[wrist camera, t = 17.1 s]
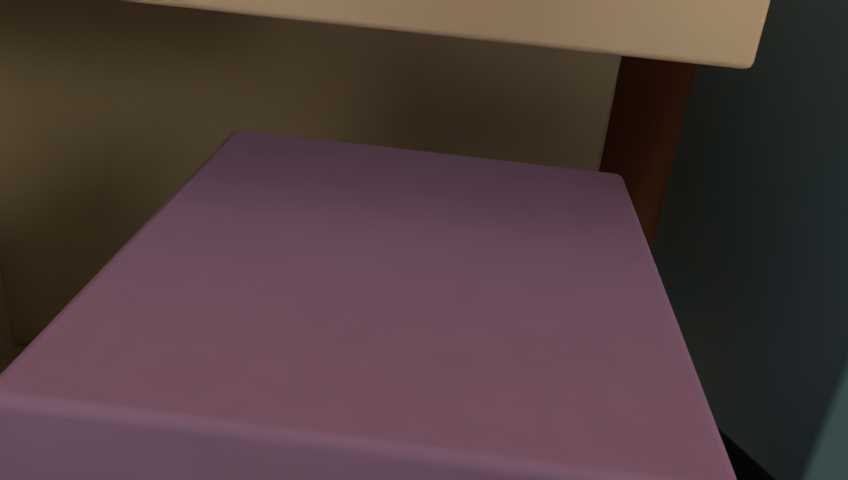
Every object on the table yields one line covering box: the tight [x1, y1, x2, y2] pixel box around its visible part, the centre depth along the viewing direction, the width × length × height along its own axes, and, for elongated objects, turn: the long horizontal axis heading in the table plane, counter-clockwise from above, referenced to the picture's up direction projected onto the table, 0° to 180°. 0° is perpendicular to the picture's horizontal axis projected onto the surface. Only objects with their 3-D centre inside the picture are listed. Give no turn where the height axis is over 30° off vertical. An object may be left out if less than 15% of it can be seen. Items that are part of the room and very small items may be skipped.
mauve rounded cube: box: [0, 130, 737, 480], centre depth 7 cm, size 4×4×5 cm
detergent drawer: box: [0, 0, 848, 480], centre depth 11 cm, size 18×10×7 cm, turn 85°
